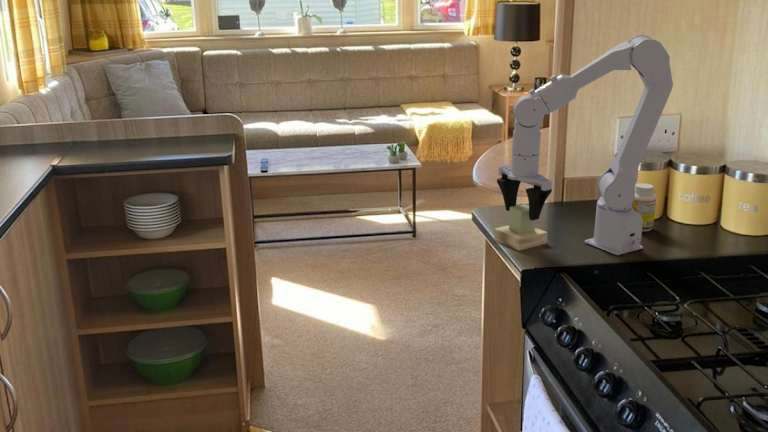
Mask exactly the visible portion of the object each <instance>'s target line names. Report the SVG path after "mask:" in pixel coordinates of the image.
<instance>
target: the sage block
mask: <svg viewBox="0 0 768 432" xmlns="http://www.w3.org/2000/svg"><path fill="white" fill-rule="evenodd" d="M536 221H537V220H530V219H529V204H528V205H527V204H524V203H523V204H517V205H516V206H512V207H510V211H509V219H508V225H509V229H510V230H512V231H515V232H517V233H519V234H523V233H528V232H534V231H535V228H536Z"/></svg>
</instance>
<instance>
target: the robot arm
mask: <svg viewBox="0 0 768 432" xmlns="http://www.w3.org/2000/svg"><path fill="white" fill-rule="evenodd" d="M670 57H671V56H670V54H669V52H668V51H667V49H666V48H665V46H664V45H663V44H662V43H661V42H660V41H658V40H657V39H654V38H653V39H652V37H650V36H648V35H645V34H638V35H637V34H636V35H635V36H633V37H631V38H629V39H628V41H627V40H625V41H622V42H621V43H619V44H617V45H616V46H614V47H612V48H611V49H609V50H607V51H606V52H604V53H603V54H601V55H600V56H598V57H597V58H595V59H594V60H593V61H591V62H589V63H588V64H586V65H585V66H582V68H580V69H579V70H577V71H575V72H574V73H572V74H570V75H566V74H559V75H556V74H553V75H551V76H550V77H549V81H548V82H546V83H545V84H543V85H541V86H540V87H537V88H536V89H534V88H532V89H530V90H529V94H524V95H521V96H520V97H518V98H517V99H516V101H515V102H514V104H513V106H512V112H513V114H514V117H515V118H514V122H513V131H512V144H511V145H512V148H511V165H510V166H508V165H500V166H498V176H500V177H499V178H497V179H496V183H497V184H498V187H499V189H500V192H501V194H502V198H503V201H504V202H503V203H504V206H505V211H507V212H510V207H512V206H517V199H518V192H519V188H520V185H521V182H522V183H523V184H527V185H530V186H533V187H530V188H526V189H525V192H526V196H527V199H528V206H529V219H530V220H536V221H537V220H539V218H540V217H541V214H542V210H543V208H544V205H545V203H546V201H547V200H548V198H549V196H550V195H551V193H552V191H553V188H552V184H553V182H552V181H553V180H552V179H548V178H547V177H545V176H544V175H542V174H540V172H539V169H540V168H539V167H540V150H541V135H542V132H541V122H542V121H543V119H544V118H545V115H549V114H551V113H553V112H555V111H557V110H558V109H560V108H561V107H564V106H565V105H567V104H568V103H570V102H571V101H573V100H575V99H576V97H577V95H578V91H579V90H580V89H582V88H584V87H586V86H587V85H589V84H591V83H592V82H595V81H596V80H599V79H600V78H602V77H604V76H605V75H608V74H609V73H611V72H612V71H632V68H634V69H635V71H637V72H638V75H639V78H640V79H641V82H642V83H643V85H644V88H643V91H642V93H641V95H640V98H639V101H638V103H637V105H636V108H635V110H634V112H633V115H632V116H631V117H632V118H631V119H630V121H629V122H630V123H628V124H629V125H628V127H627V130H626V131H625V134H624V137H623V138H622V141H621V143H620V146H619V149H618V150H617V151H618V152H617V153H616V155H615V157H614V158H613V159H612V161H611V162H610V163H609V166H608V167H607V168H606V170H605V171H604V172H603V173H602V174H601V175H600V177H599V178H598V180H597V189H598V191H599V192H600V194H601V195H600V197H599V199H598V200H597V201H596V210H595V221H594V222H595V223H594V230H593V231H594V232H593V237H592V238H588V239H585V240H584V243H585V244H588V245H589V246H593V247H595V248H598V249H600V250H603V251H604V252H605V251H606V252H608V253H610V254H613V255H615V256H620V255H623V254H628V253H630V252H634V251H635V252H636V251H639V250H641V249H642V250H643V247H644V246H643V245H642V244H641V240H642V233H643V232H642V226H643V219H642V216H641V215H640V214H639V213H637V212H635V211H634V210H633V208H632V202H633V201H634V198H635V185H636V184H637V183H638V177H639V167H640V165H641V162H642V160H643V158H644V156H645V153H646V151H647V149H648V147H649V145H650V141H651V139H652V137H653V135H654V133H655V130H656V128H657V125H658V122H659V120H660V118H661V116H662V113H663V111H664V109H665V106H666V104H667V102H668V99H669V97H670V94H671V93H672V90H673V86H674V82H673V74H672V70H671V65H670V59H671V58H670Z"/></svg>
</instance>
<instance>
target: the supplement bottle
mask: <svg viewBox="0 0 768 432" xmlns="http://www.w3.org/2000/svg"><path fill="white" fill-rule="evenodd" d="M654 187H655V186H654V185H652V184H650V183H644V182H643V183H636V185H635V198H634V201H633V202H632V208H633V210H634V211H635V212H637V213H639V214H640V215H641V216H642V219H643V226H642V233H643V232H650V231H651V230H653V228H654V222H655V221H654V220H655V213H656V205H657V195H656V194H655V193H654Z"/></svg>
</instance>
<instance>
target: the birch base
mask: <svg viewBox="0 0 768 432" xmlns="http://www.w3.org/2000/svg"><path fill="white" fill-rule="evenodd" d="M493 235H494V236H493V237H494V239H493V240H494V241H496V242H498V243H501V244H503V245H504V246H508V247H510V248H512V249H514V250H517V251H519V252H520V251H524V250H527V249H531V248H534V247H539V246H542V244H543V245H546V243H547V244H548V242H547V241H548V232H547V231H545V230H542V229H541V228H538V227H535V231H534V232H528V233H523V234H519V233H517V232H515V231H512V230H510V229H509V224H508V225H503V226H499V227H495V228H494V233H493Z"/></svg>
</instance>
